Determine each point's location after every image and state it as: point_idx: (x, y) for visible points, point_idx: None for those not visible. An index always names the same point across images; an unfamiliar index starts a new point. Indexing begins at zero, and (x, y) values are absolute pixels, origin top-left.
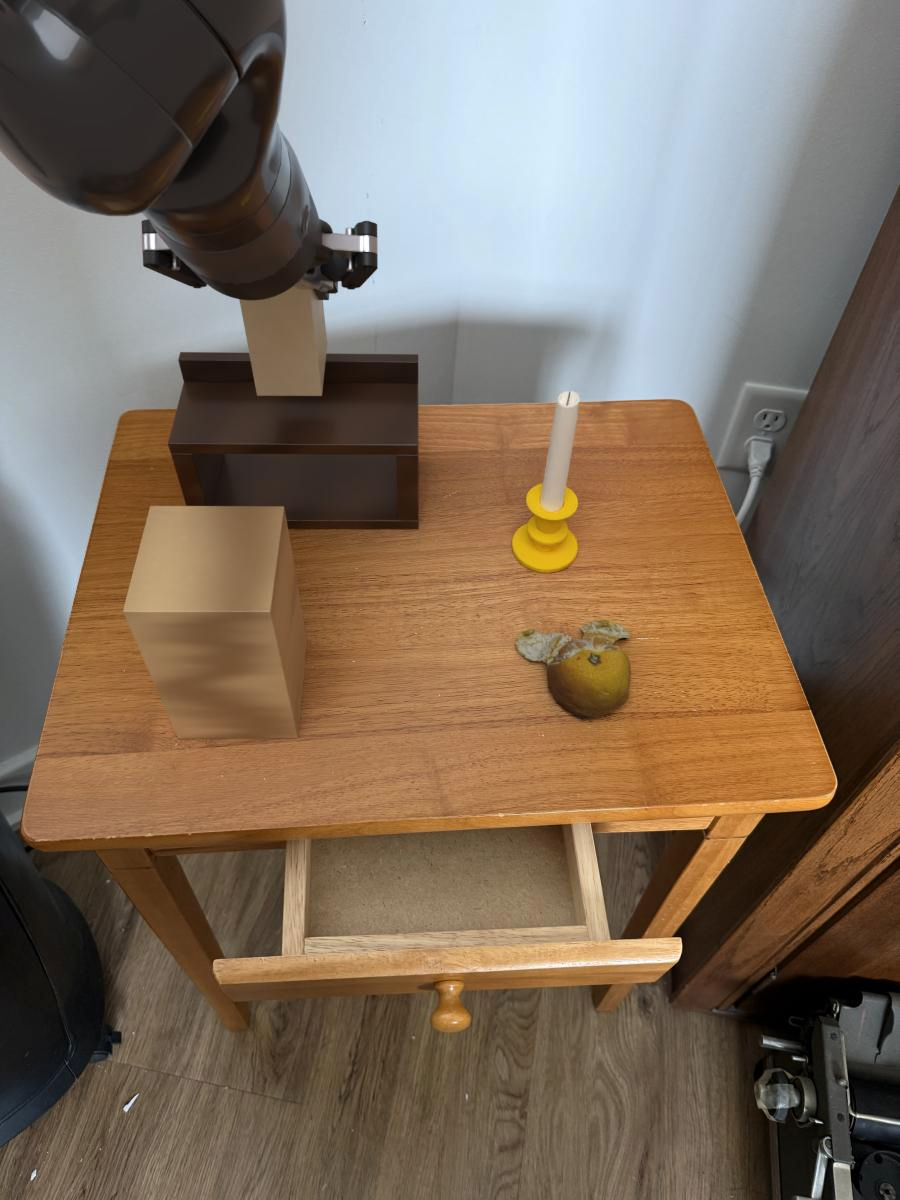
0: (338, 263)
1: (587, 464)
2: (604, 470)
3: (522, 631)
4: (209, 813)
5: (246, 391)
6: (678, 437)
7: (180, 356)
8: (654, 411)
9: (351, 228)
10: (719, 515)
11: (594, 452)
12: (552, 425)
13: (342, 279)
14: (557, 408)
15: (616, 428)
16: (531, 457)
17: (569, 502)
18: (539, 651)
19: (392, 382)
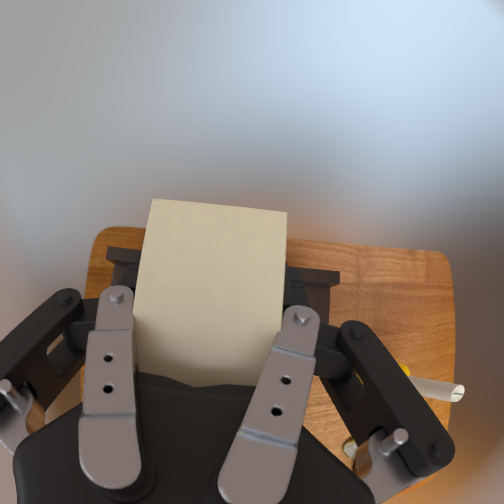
0: (328, 363)
1: (405, 299)
2: (412, 305)
3: (348, 441)
4: None
5: None
6: (446, 277)
7: (107, 253)
8: (437, 253)
9: (406, 440)
10: (453, 340)
11: (409, 288)
12: (434, 392)
13: (327, 383)
14: (447, 397)
15: (420, 266)
16: (375, 291)
17: None
18: (354, 450)
19: (308, 286)
